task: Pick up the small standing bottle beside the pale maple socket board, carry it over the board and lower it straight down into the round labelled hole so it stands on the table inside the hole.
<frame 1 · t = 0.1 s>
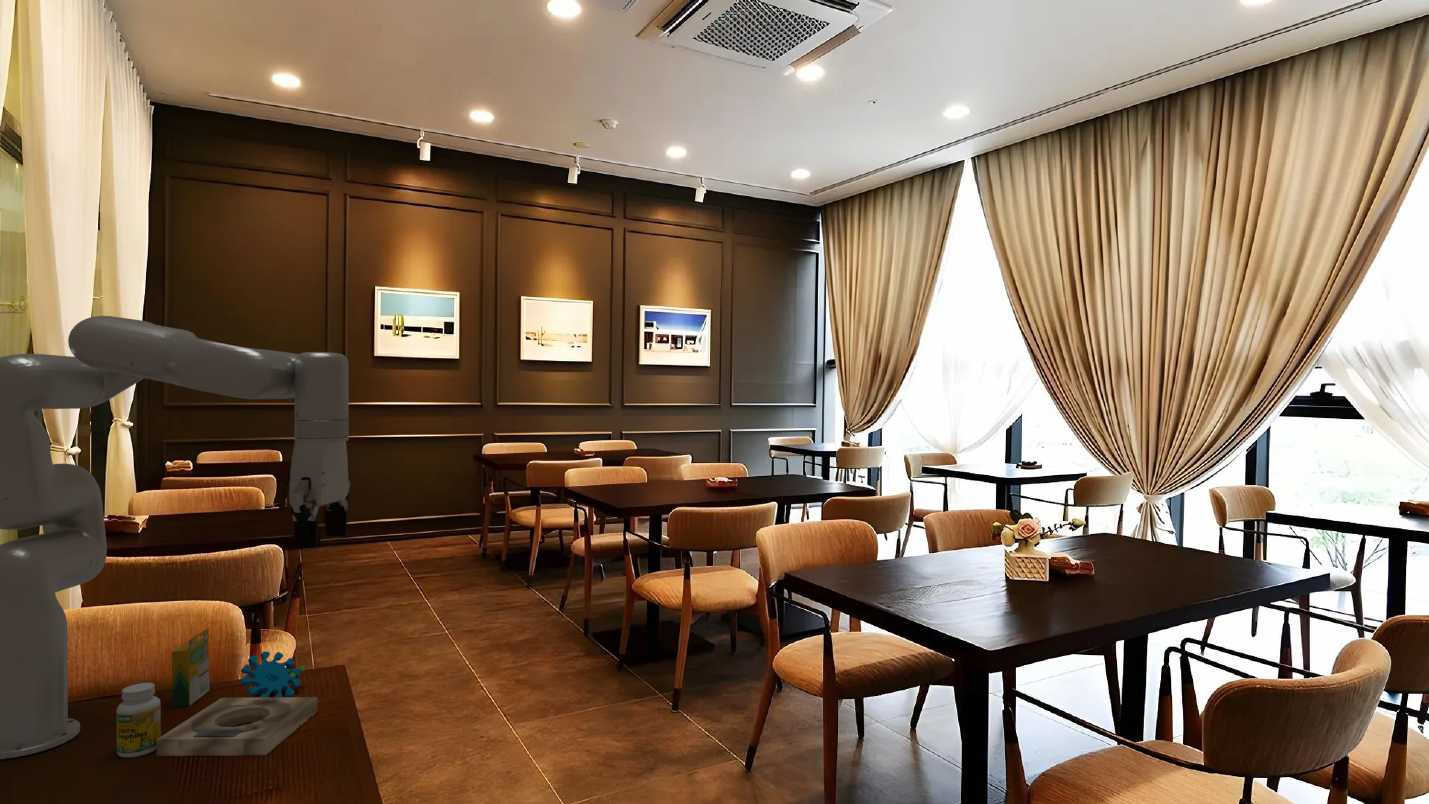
hand: (321, 541, 121), 31 cm above the table, tool pointing down, fingers open, 9 cm apart
crayon box: (191, 700, 137), on the table
socket board: (242, 732, 124), on the table
blue virus toy: (274, 697, 139), on the table
supplement bottle: (138, 751, 117), on the table
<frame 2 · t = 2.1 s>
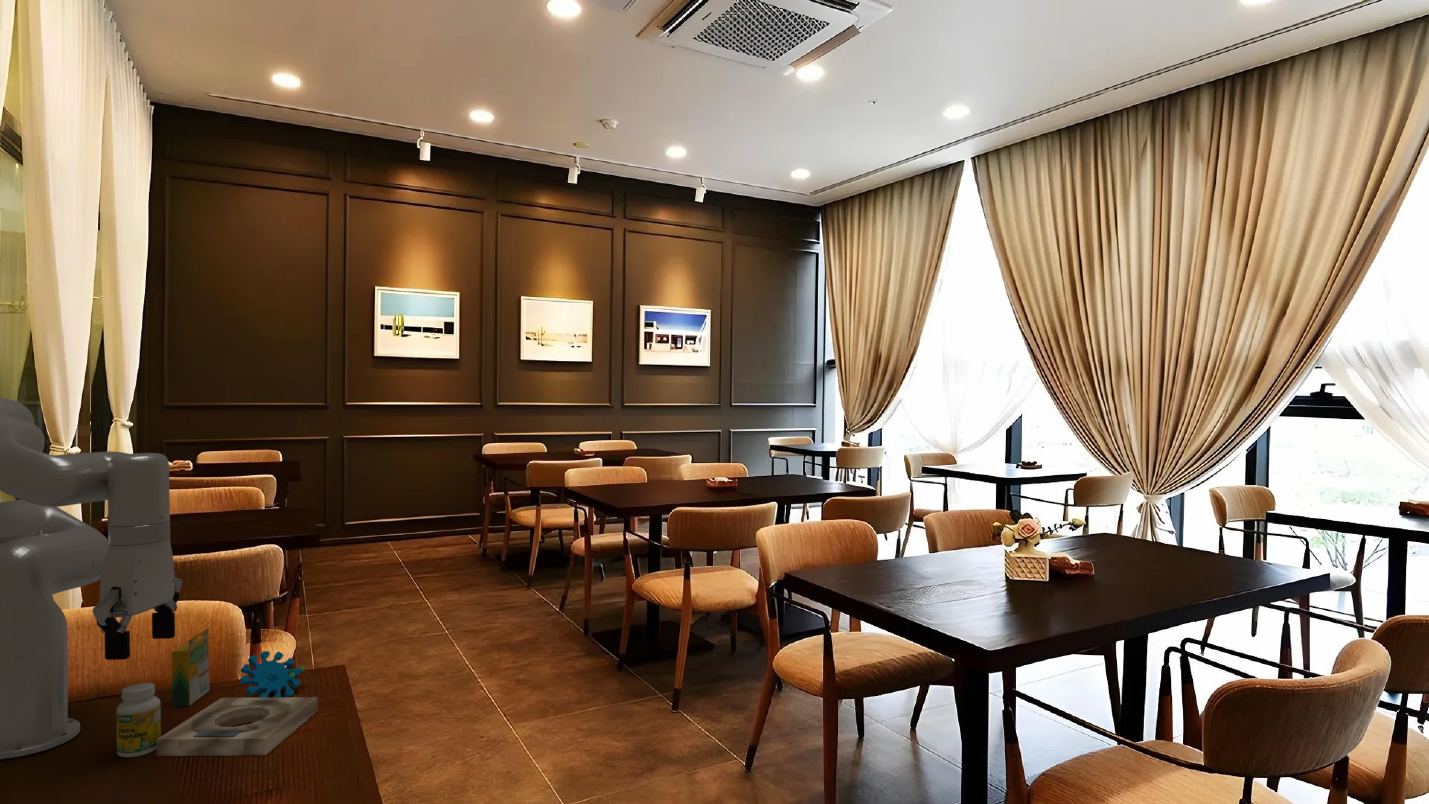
hand: (141, 648, 117), 16 cm above the table, tool pointing down, fingers open, 9 cm apart
nothing on the table moved.
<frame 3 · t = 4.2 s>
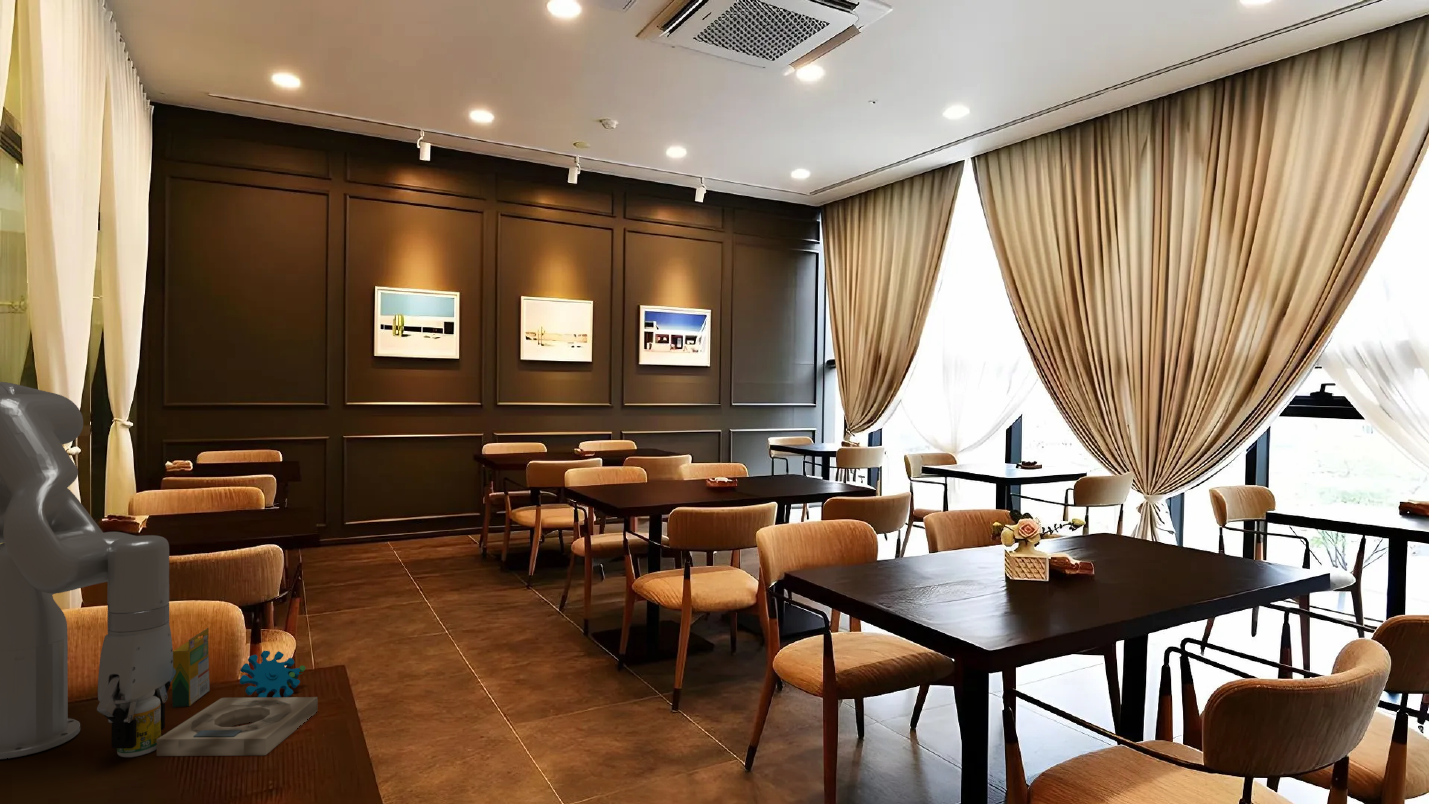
hand: (138, 737, 117), 2 cm above the table, tool pointing down, fingers closed on supplement bottle, 5 cm apart
supplement bottle: (138, 751, 117), on the table, touching gripper
everything else where it was.
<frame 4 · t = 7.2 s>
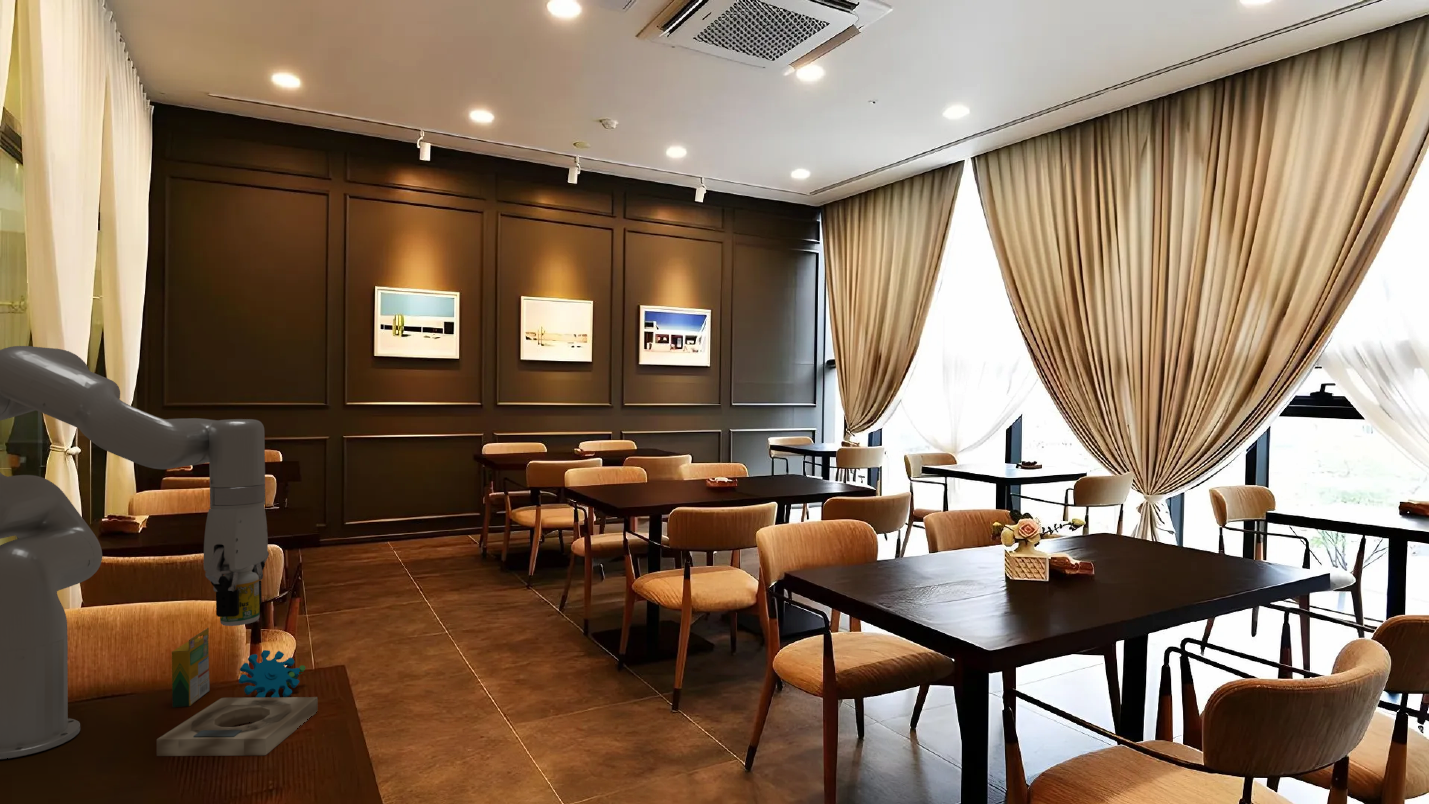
hand: (239, 609, 123), 20 cm above the table, tool pointing down, fingers closed on supplement bottle, 5 cm apart
supplement bottle: (239, 623, 123), point 18 cm above the table, touching gripper
everything else where it was.
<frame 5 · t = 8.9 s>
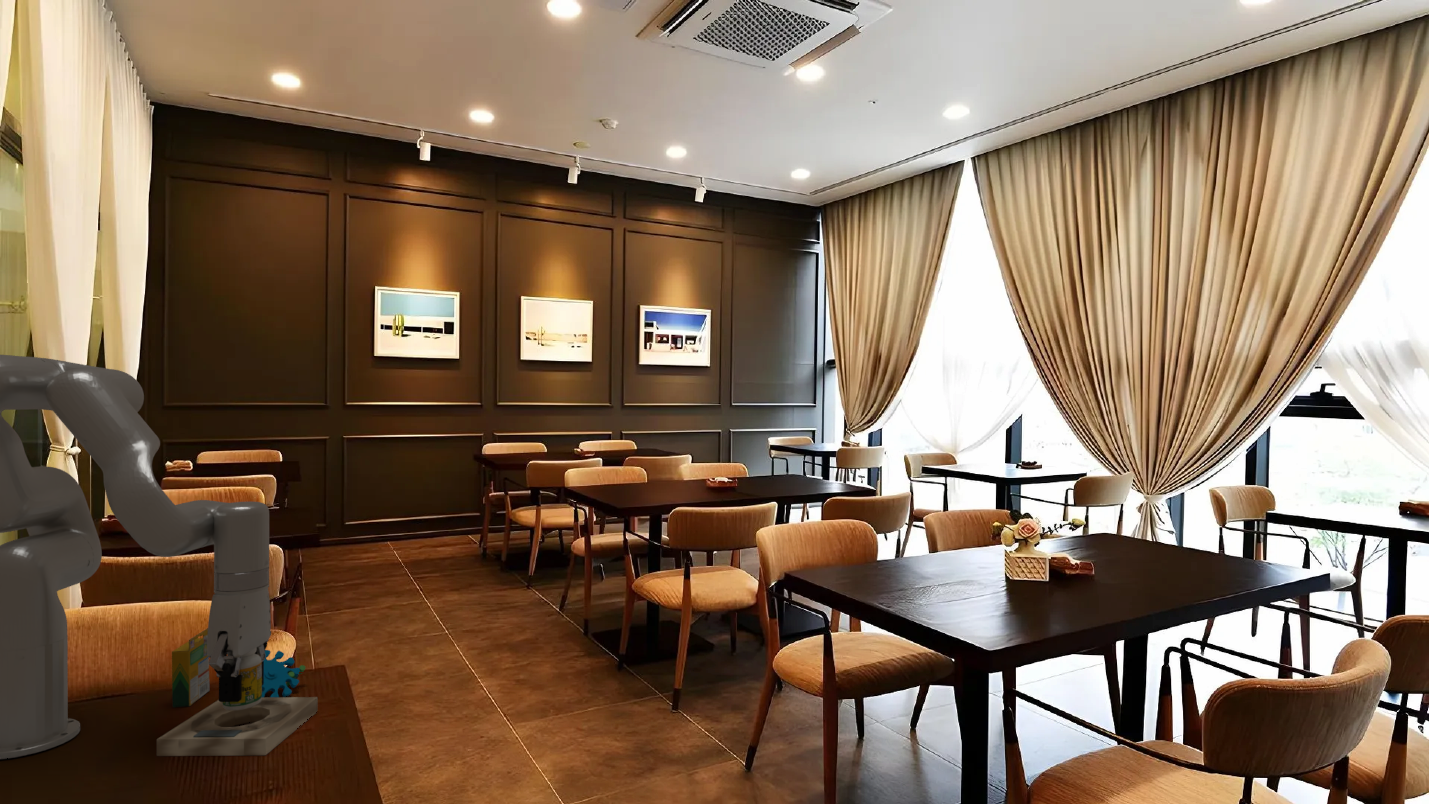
hand: (241, 692, 124), 6 cm above the table, tool pointing down, fingers closed on supplement bottle, 5 cm apart
supplement bottle: (242, 706, 124), point 4 cm above the table, touching gripper
everything else where it was.
when the fingers open (3 cm above the table, at t = 10.3 s): supplement bottle drops 1 cm, resting in socket board.
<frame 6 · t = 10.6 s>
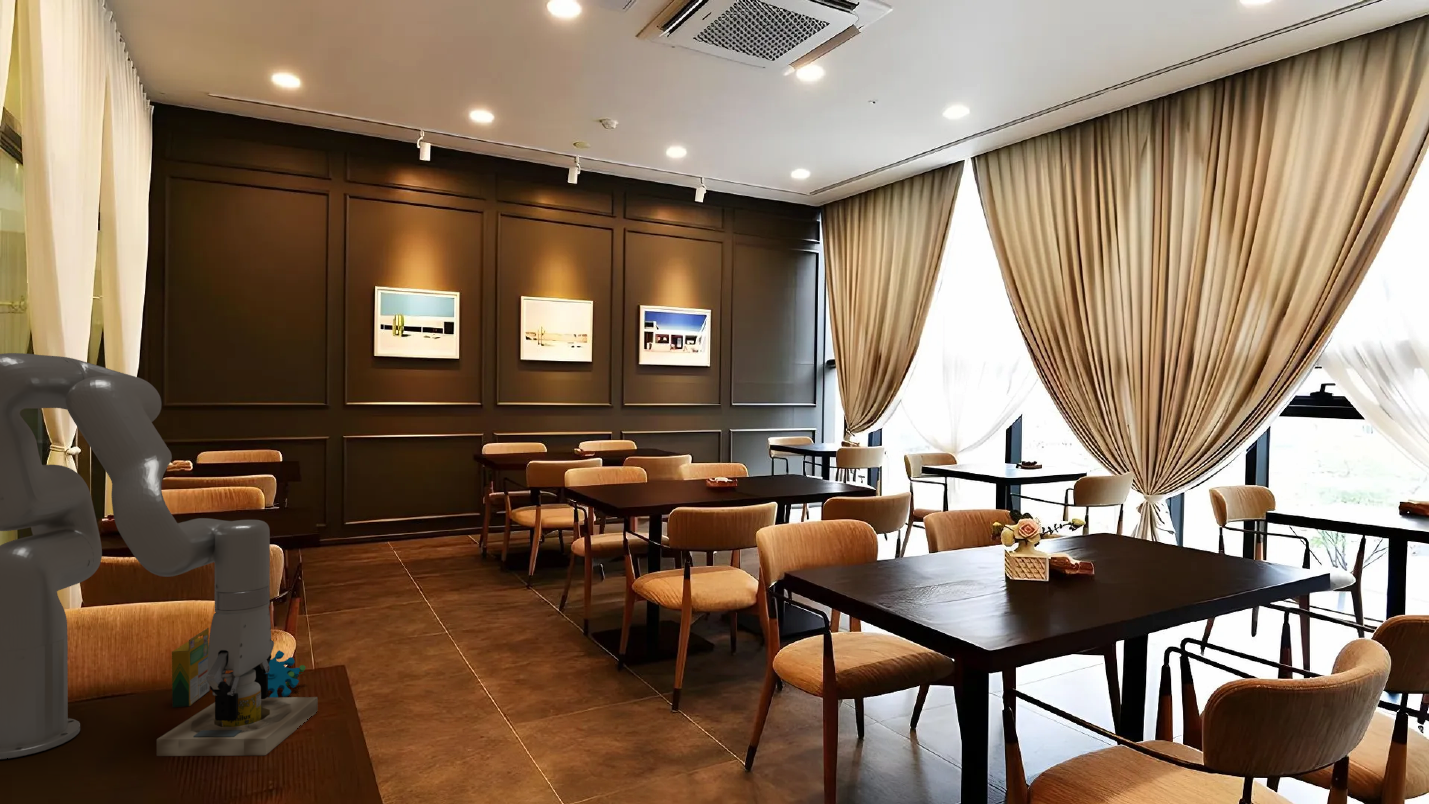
hand: (242, 708, 124), 4 cm above the table, tool pointing down, fingers open, 7 cm apart
supplement bottle: (241, 734, 124), resting in socket board
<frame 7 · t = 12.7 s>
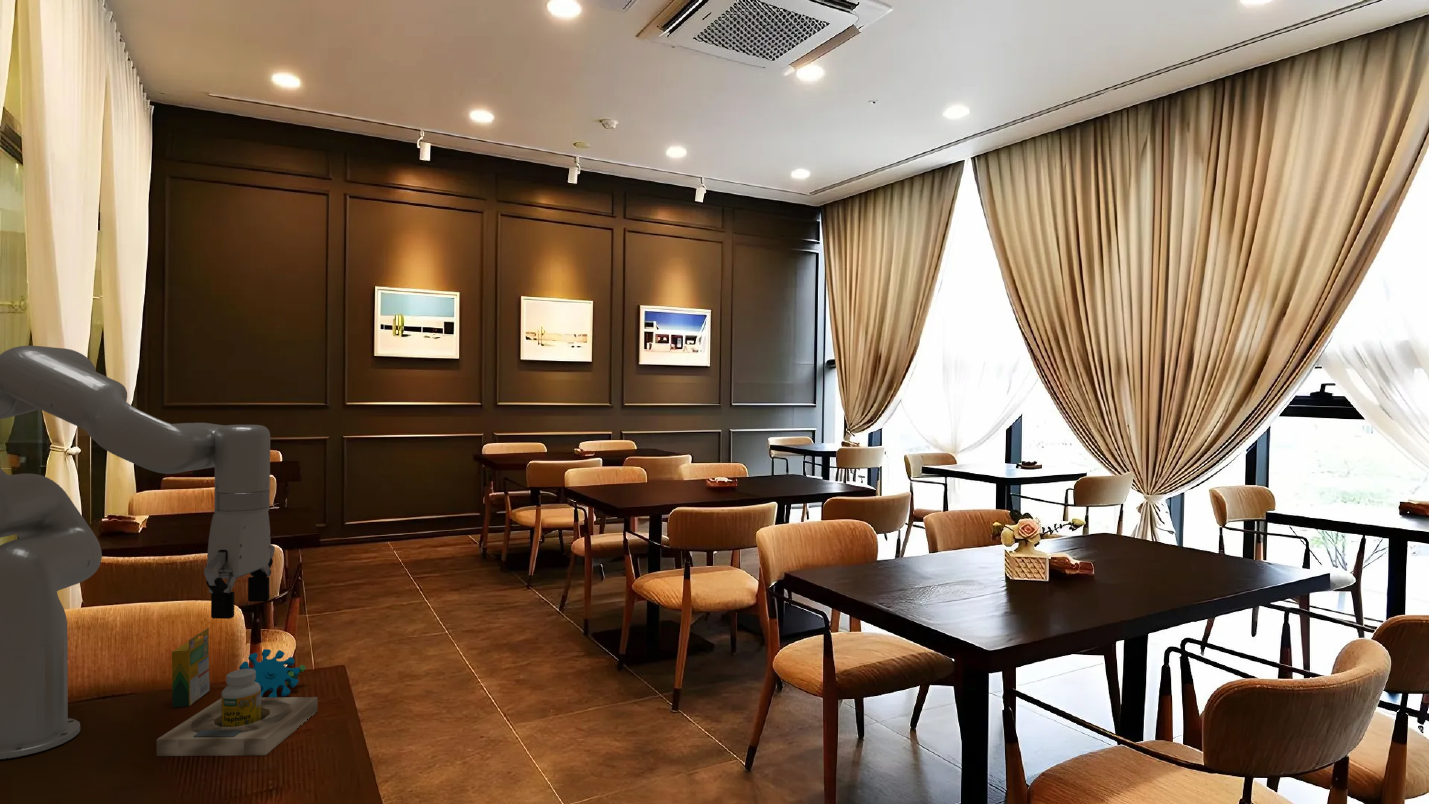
hand: (241, 609, 123), 20 cm above the table, tool pointing down, fingers open, 9 cm apart
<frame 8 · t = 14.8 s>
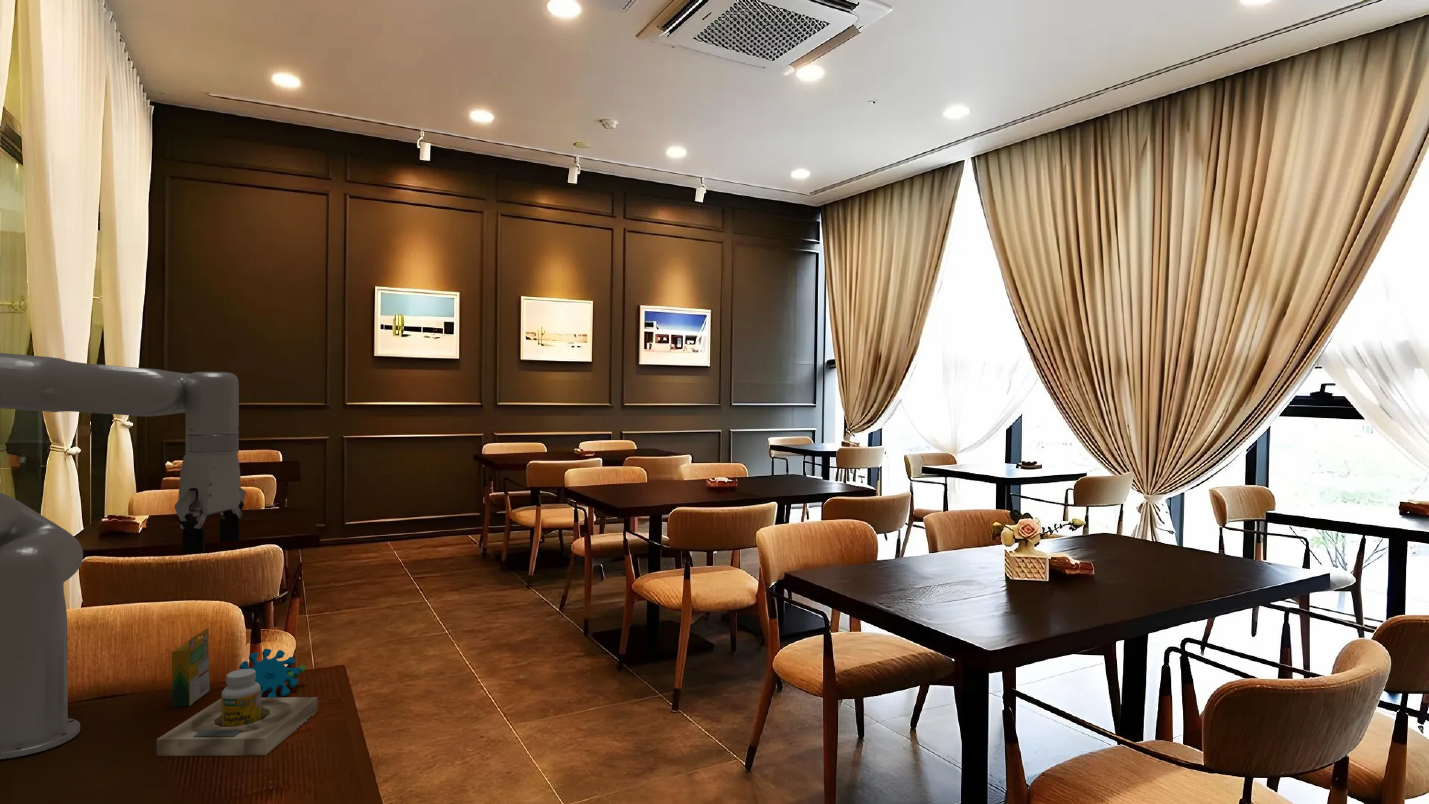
hand: (212, 547, 130), 28 cm above the table, tool pointing down, fingers open, 9 cm apart
at the end: supplement bottle 0.1 cm off-centre on the socket board, point 0.0 cm above the socket board's base; supplement bottle tilted 0°; the gripper is holding nothing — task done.
